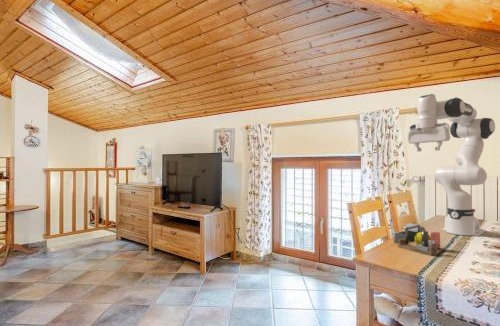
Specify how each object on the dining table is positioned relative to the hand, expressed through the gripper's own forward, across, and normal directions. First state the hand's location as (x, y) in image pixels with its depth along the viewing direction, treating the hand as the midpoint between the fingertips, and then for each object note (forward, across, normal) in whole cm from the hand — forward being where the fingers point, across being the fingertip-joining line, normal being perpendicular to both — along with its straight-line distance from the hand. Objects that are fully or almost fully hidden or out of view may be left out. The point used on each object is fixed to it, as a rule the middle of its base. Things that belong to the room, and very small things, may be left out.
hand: (428, 151), depth 148 cm
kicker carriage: (+47, -9, +17) cm, 50 cm away
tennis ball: (+48, -3, +12) cm, 50 cm away
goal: (+48, +5, +12) cm, 50 cm away
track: (+48, -5, +21) cm, 53 cm away
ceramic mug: (+48, +8, -1) cm, 49 cm away
